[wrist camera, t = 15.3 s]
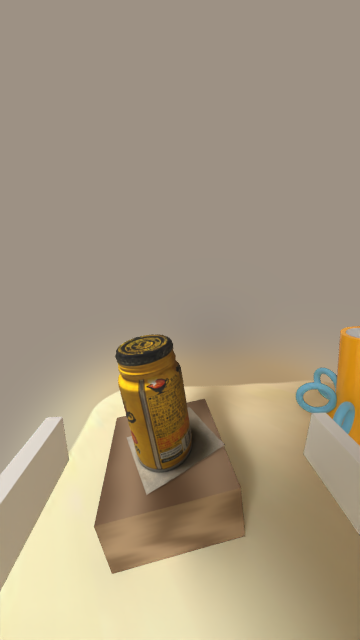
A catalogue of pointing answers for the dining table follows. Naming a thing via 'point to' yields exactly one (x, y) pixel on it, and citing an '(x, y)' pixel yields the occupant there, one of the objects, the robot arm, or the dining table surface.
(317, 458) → the robot arm
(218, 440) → the condiment
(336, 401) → the cylinder
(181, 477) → the riser
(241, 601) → the dining table surface
